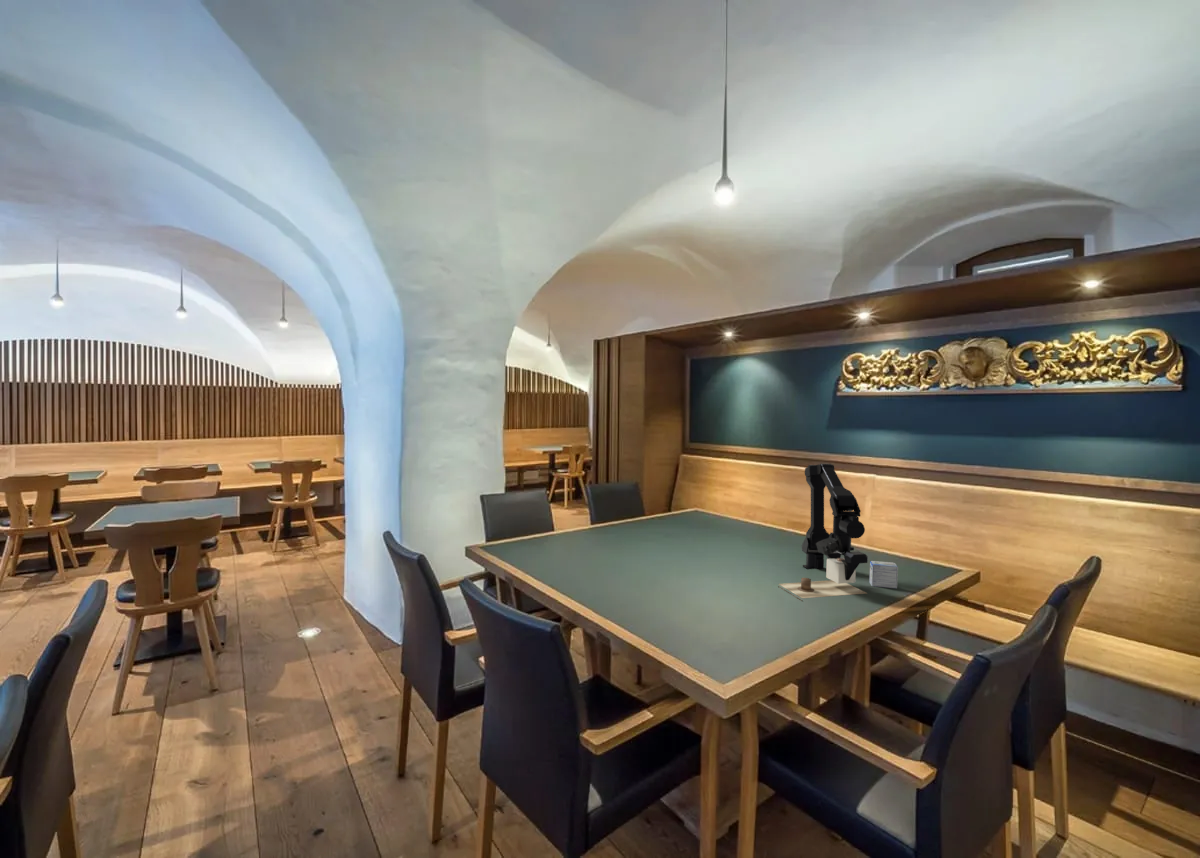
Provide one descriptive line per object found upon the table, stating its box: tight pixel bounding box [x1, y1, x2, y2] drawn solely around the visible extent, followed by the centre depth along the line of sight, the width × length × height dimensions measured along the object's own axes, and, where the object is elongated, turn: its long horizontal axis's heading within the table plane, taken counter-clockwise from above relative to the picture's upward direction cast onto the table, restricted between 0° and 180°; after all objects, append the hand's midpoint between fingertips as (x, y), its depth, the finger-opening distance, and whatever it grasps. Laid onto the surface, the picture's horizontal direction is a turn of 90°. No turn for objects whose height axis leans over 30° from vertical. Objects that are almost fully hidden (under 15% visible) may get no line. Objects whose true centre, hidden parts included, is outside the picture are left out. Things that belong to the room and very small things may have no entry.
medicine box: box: [868, 560, 899, 589], centre depth 186 cm, size 8×4×9 cm, turn 74°
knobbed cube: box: [825, 557, 857, 584], centre depth 183 cm, size 6×6×7 cm
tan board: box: [777, 577, 867, 602], centre depth 182 cm, size 14×24×4 cm, turn 103°
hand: (840, 576), depth 184 cm, fingers closed on knobbed cube, 6 cm apart
